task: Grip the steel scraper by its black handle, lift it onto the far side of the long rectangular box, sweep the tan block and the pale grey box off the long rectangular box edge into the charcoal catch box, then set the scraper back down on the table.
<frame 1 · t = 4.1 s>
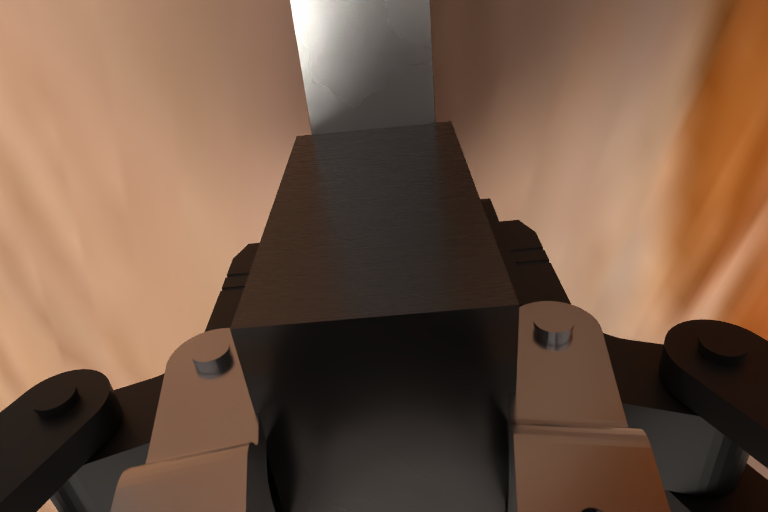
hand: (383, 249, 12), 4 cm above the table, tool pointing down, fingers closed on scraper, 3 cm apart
scraper: (381, 166, 15), on the table, touching gripper
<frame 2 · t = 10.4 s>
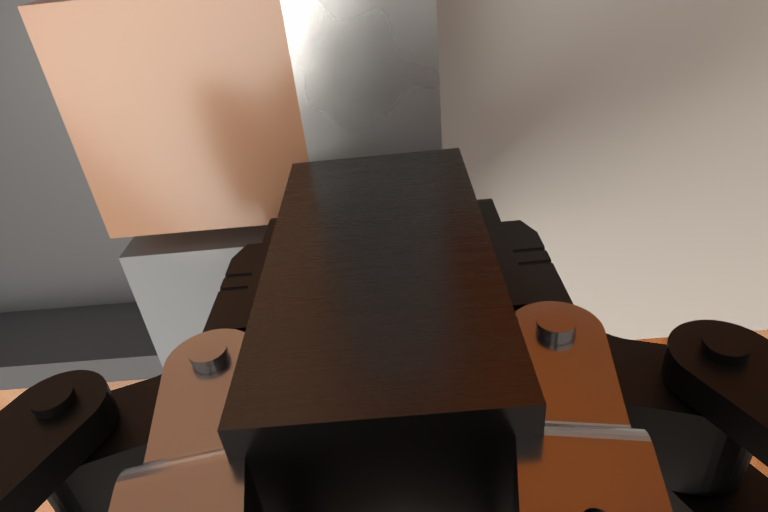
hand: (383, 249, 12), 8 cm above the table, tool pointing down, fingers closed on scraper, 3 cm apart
catch box: (51, 147, 19), on the table
long rectangular box: (483, 109, 19), on the table
scraper: (382, 183, 14), point 6 cm above the table, touching gripper, pale grey box, tan block
pale grey box: (266, 261, 16), point 5 cm above the table, touching long rectangular box, scraper
tan block: (223, 81, 13), point 5 cm above the table, touching long rectangular box, scraper
when the fingers open (4 cm above the table, at t = 18.1 s): scraper drops 1 cm, on the table.
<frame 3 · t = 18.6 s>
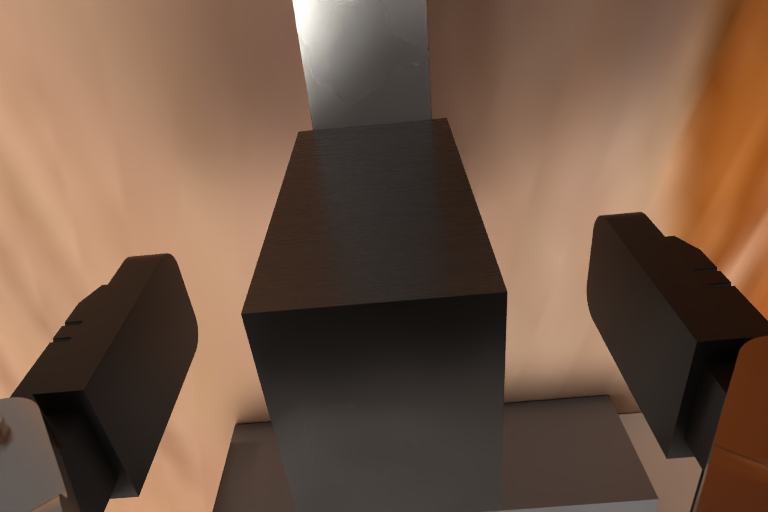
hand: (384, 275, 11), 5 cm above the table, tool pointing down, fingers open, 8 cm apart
scraper: (379, 160, 15), on the table
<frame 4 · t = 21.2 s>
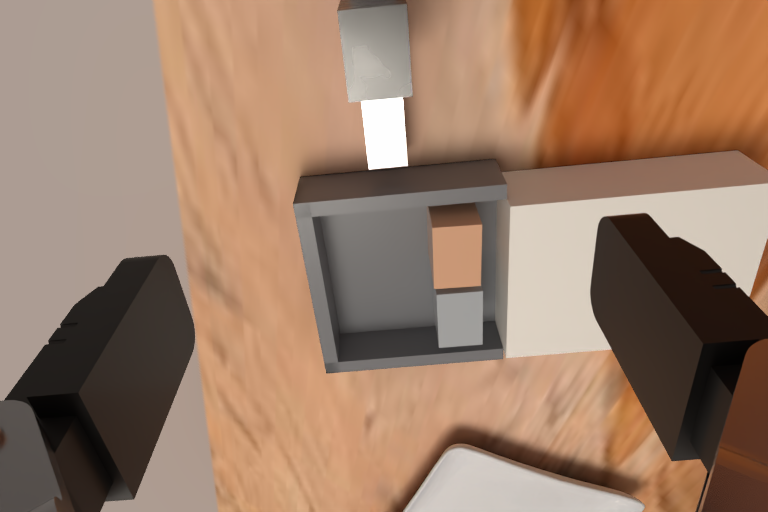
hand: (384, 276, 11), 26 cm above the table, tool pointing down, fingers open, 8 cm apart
catch box: (404, 256, 41), on the table
long rectangular box: (605, 239, 41), on the table
salad plate: (490, 510, 59), on the table
scraper: (375, 19, 33), on the table
pale grey box: (477, 298, 40), point 3 cm above the table, tilted 90°, touching catch box
tan block: (475, 238, 37), point 3 cm above the table, tilted 90°, touching catch box
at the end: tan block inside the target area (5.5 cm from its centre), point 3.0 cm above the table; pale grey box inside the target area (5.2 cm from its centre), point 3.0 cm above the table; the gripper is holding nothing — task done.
